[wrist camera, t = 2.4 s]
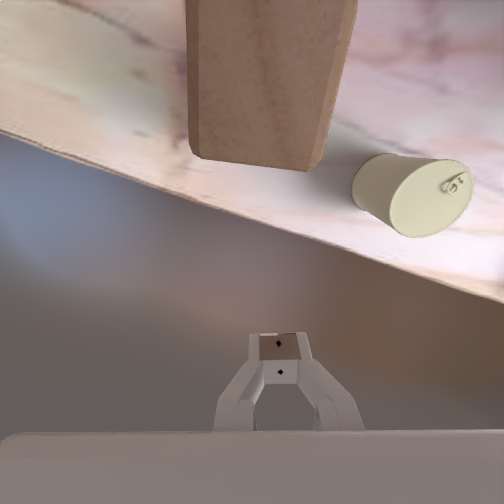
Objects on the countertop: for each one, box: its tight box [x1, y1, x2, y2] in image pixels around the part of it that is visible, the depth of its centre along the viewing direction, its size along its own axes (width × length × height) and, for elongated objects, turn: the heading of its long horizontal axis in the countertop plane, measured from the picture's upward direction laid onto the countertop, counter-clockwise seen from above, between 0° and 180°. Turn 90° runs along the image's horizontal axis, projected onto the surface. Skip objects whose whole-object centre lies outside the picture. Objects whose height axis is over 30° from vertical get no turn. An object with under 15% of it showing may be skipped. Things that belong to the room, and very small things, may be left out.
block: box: [186, 0, 357, 172], centre depth 22 cm, size 10×10×20 cm
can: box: [351, 154, 474, 238], centre depth 30 cm, size 9×9×12 cm
